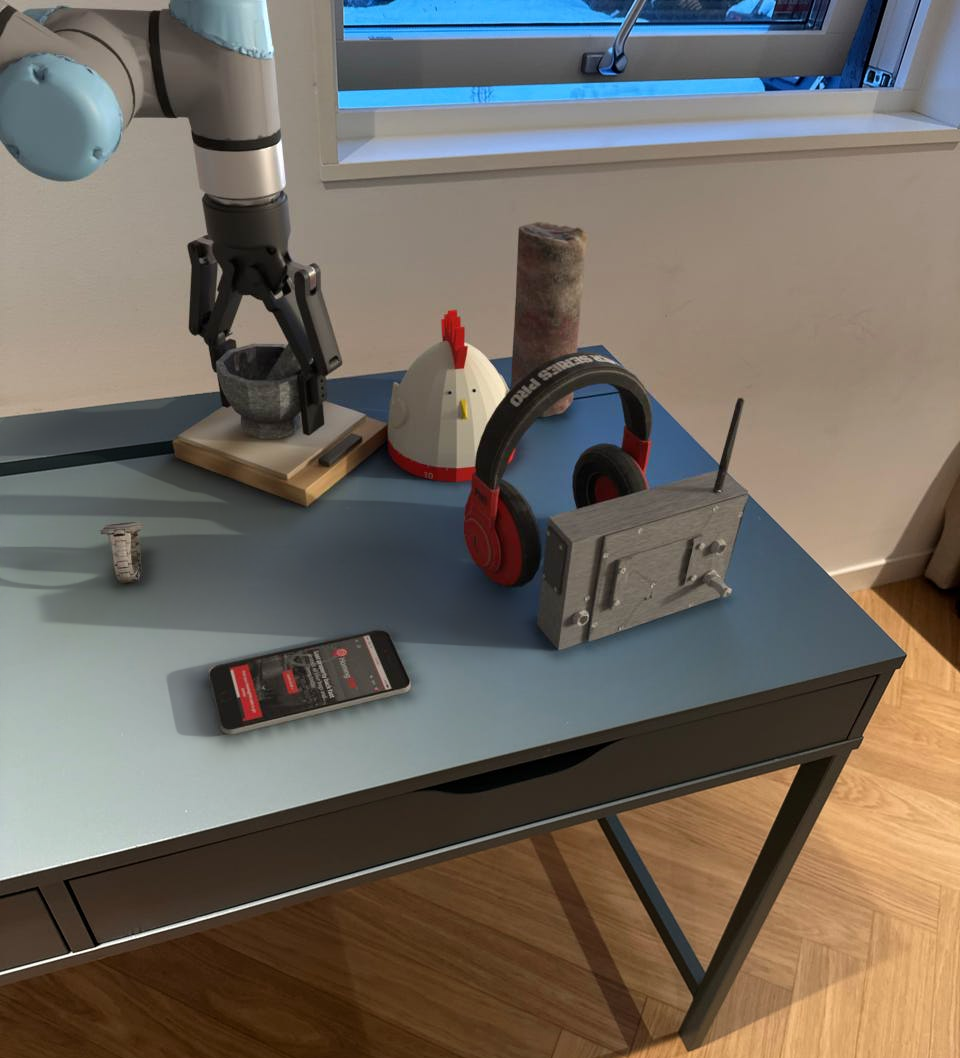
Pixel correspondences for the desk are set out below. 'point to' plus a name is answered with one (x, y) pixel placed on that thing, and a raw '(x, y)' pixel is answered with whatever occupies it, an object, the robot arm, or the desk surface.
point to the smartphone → (307, 681)
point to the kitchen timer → (444, 407)
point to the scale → (283, 451)
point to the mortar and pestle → (262, 388)
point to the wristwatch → (125, 550)
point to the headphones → (599, 475)
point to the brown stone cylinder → (547, 299)
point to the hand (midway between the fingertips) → (272, 415)
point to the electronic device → (640, 554)
